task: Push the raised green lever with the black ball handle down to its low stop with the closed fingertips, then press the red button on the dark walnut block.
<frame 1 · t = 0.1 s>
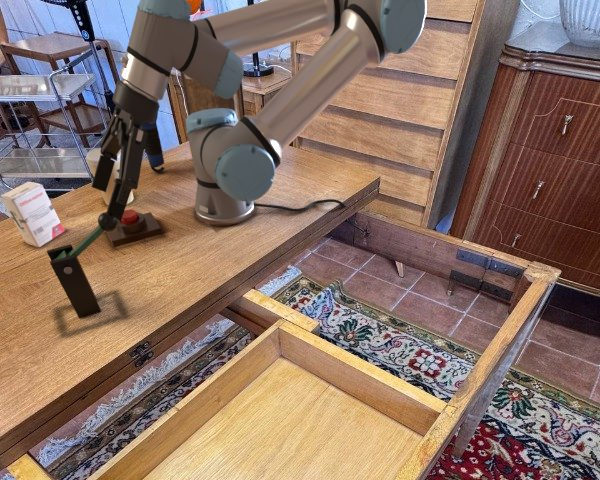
hand: (105, 202, 88), 15 cm above the table, tool tilted 35°, fingers open, 13 cm apart
flashlight: (160, 172, 132), on the table
bracket: (90, 313, 91), on the table
book: (223, 162, 136), on the table
ink box: (45, 238, 110), on the table
lever: (87, 241, 81), point 15 cm above the table, hinge at 28.0°
button: (128, 217, 106), point 4 cm above the table, slide at 0.1 cm
button block: (134, 234, 110), on the table
coffee cup: (119, 200, 122), on the table
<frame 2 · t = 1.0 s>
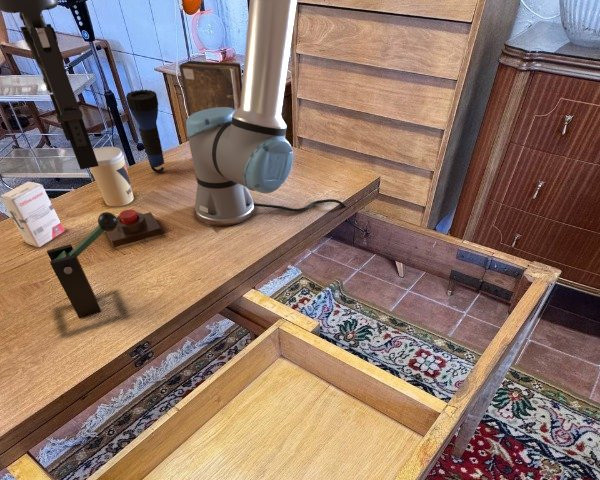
hand: (81, 152, 71), 29 cm above the table, tool pointing down, fingers open, 12 cm apart
nothing on the table moved.
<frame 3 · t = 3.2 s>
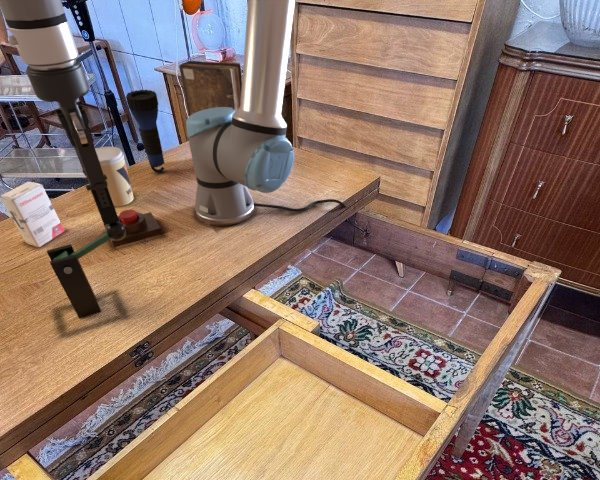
hand: (111, 221, 80), 17 cm above the table, tool pointing down, fingers closed
lever: (91, 246, 82), point 14 cm above the table, hinge at 17.3°
everything else where it was.
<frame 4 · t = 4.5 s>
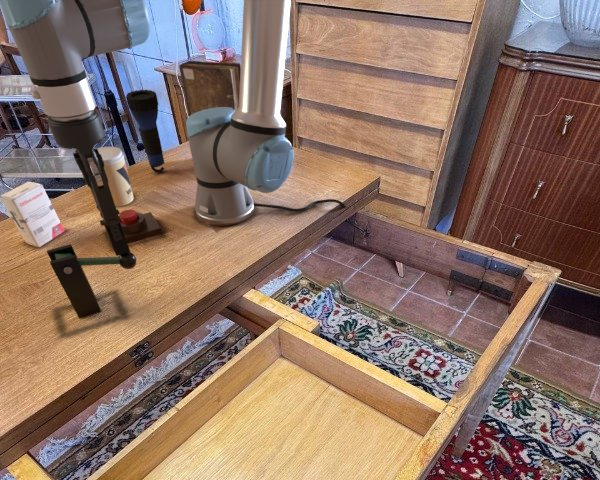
hand: (122, 251, 85), 11 cm above the table, tool pointing down, fingers closed
lever: (98, 261, 84), point 10 cm above the table, hinge at -15.8°, touching gripper
everything else where it was.
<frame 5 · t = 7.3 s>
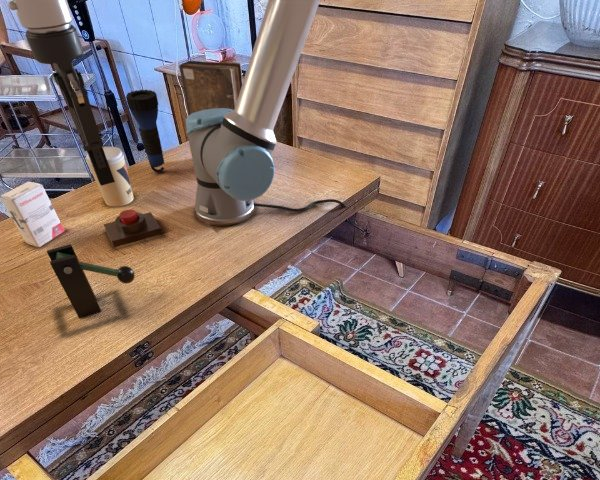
hand: (107, 182, 86), 19 cm above the table, tool pointing down, fingers closed
lever: (97, 269, 85), point 9 cm above the table, hinge at -32.5°
everything else where it was.
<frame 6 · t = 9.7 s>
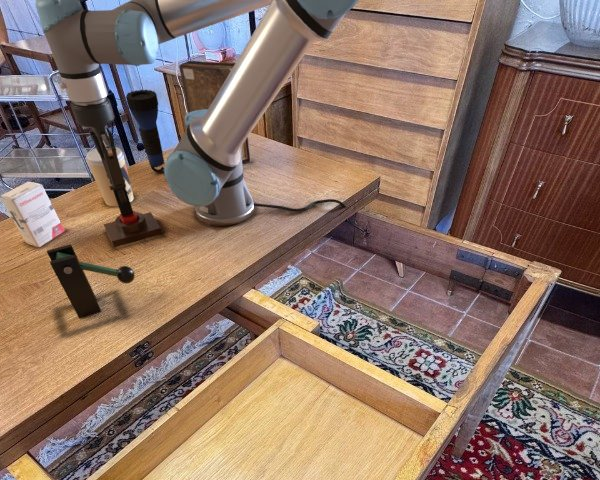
hand: (127, 213, 106), 5 cm above the table, tool pointing down, fingers closed
button: (129, 217, 107), point 4 cm above the table, slide at -0.1 cm, touching gripper
everything else where it was.
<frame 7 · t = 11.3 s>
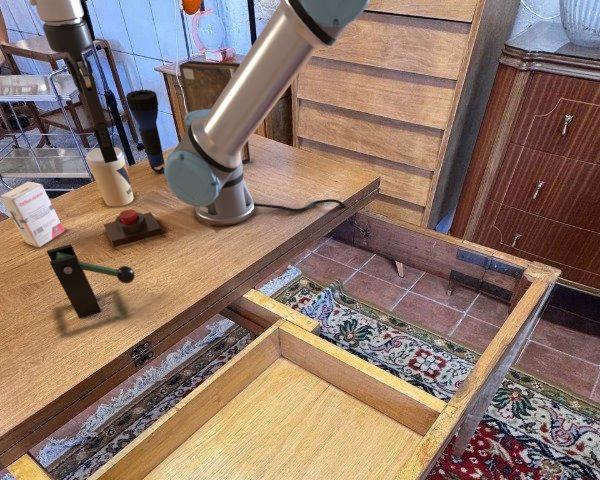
hand: (111, 160, 96), 17 cm above the table, tool pointing down, fingers closed
button: (128, 217, 106), point 4 cm above the table, slide at 0.1 cm
everything else where it was.
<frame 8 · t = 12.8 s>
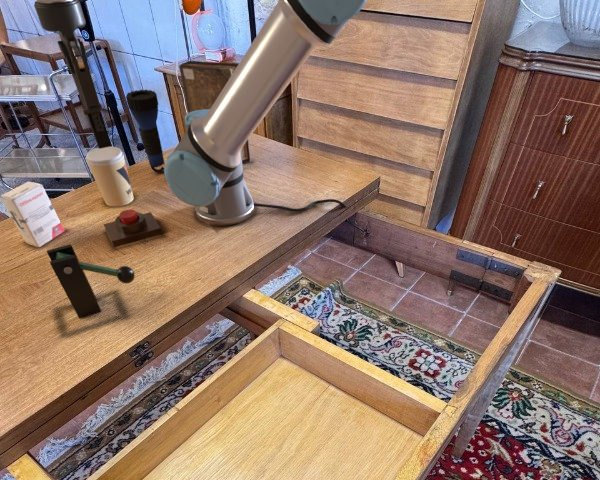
hand: (105, 146, 94), 20 cm above the table, tool pointing down, fingers closed
nothing on the table moved.
at the end: lever at -32° (first picture: +28°); button pushed in 1.0 cm at the most during the clip, back to where it started at the end; button slide at 0.1 cm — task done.
